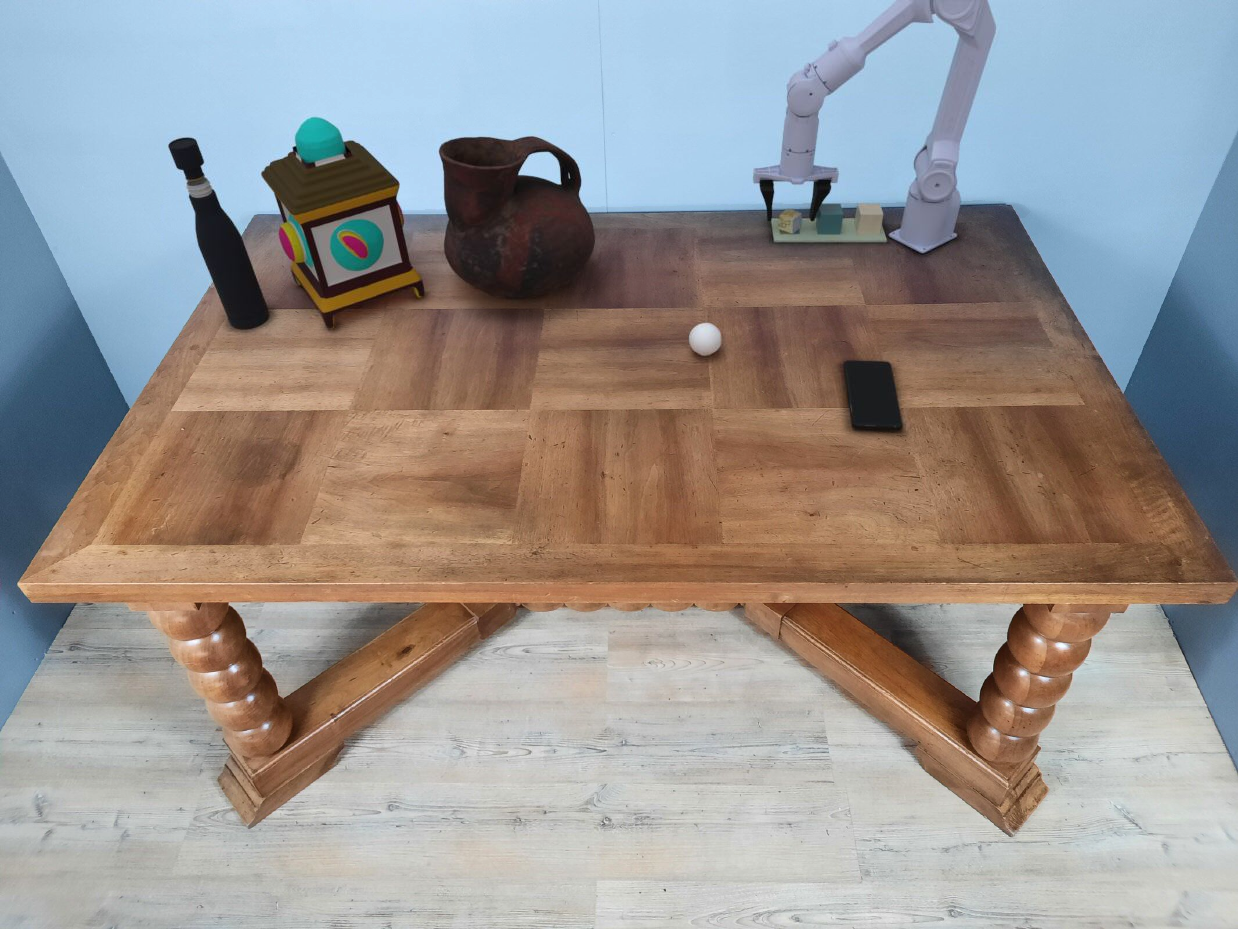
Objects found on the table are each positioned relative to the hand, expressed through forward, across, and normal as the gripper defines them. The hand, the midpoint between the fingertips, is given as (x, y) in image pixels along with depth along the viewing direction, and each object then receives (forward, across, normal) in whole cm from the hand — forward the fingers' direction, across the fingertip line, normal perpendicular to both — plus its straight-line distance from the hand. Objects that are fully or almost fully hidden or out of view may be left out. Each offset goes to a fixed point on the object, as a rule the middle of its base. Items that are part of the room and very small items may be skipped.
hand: (790, 218), depth 159 cm
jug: (+3, -47, -17) cm, 50 cm away
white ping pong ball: (+3, -16, -37) cm, 40 cm away
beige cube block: (+2, +14, 0) cm, 14 cm away
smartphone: (+3, +8, -47) cm, 48 cm away
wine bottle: (+3, -91, -28) cm, 96 cm away
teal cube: (+2, +7, 0) cm, 7 cm away
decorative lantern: (+3, -75, -20) cm, 78 cm away
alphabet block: (+2, 0, 0) cm, 2 cm away
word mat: (+2, +7, 0) cm, 7 cm away
